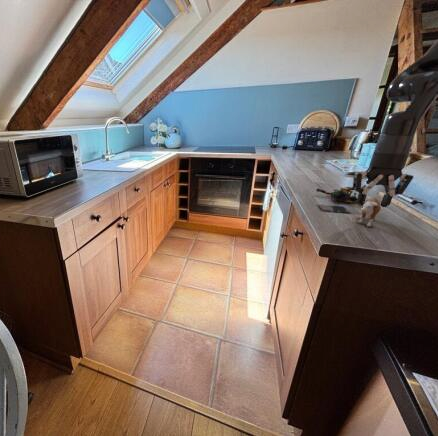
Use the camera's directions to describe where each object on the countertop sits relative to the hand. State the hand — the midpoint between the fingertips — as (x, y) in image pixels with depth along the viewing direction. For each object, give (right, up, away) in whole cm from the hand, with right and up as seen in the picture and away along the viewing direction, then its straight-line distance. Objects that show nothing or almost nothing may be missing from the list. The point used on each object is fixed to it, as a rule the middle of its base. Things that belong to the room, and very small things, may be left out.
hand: (371, 205), depth 77 cm
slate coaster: (-2, -1, +14) cm, 14 cm away
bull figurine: (-1, -6, +2) cm, 6 cm away
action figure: (+10, +3, +23) cm, 26 cm away
